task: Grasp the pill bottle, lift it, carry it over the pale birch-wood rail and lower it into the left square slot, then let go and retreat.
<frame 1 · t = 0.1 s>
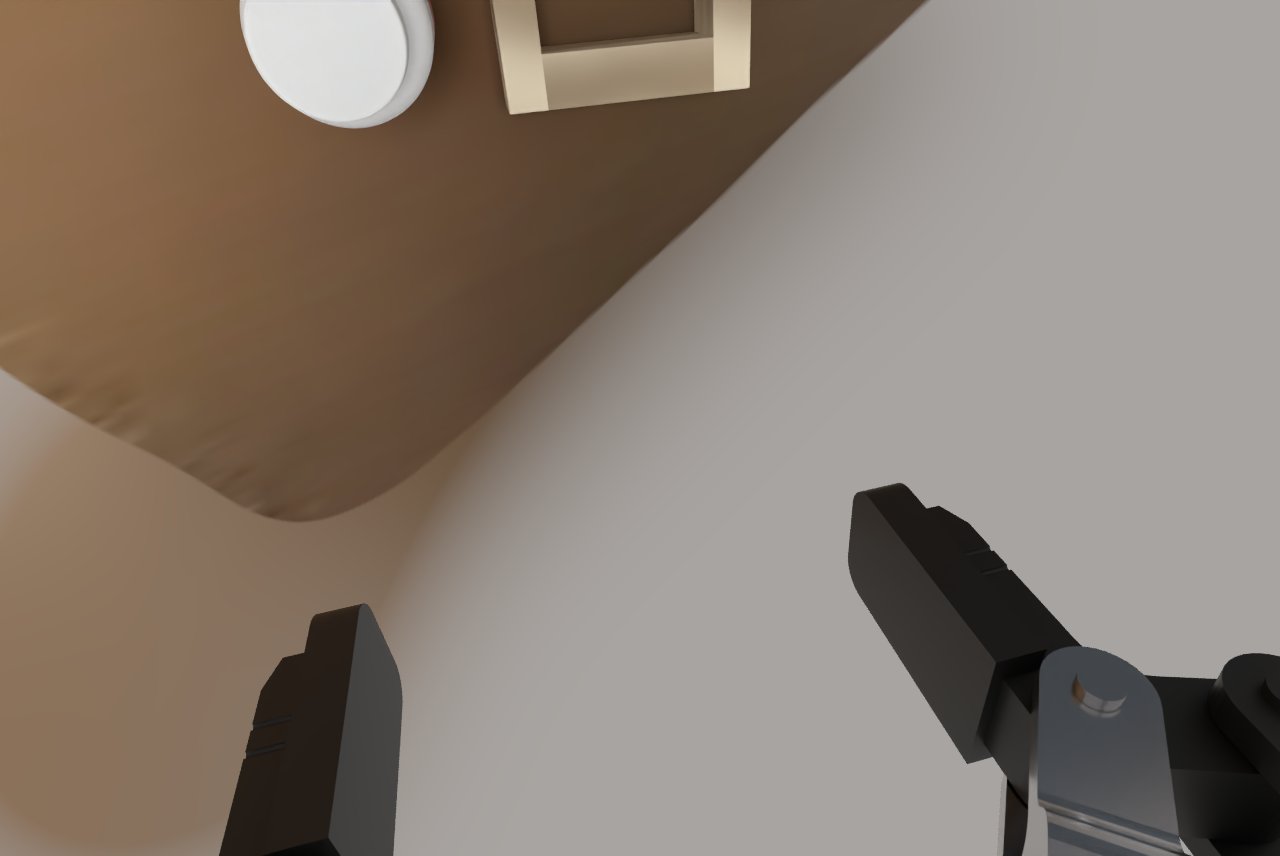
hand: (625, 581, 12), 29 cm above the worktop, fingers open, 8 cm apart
pill bottle: (362, 16, 31), on the worktop
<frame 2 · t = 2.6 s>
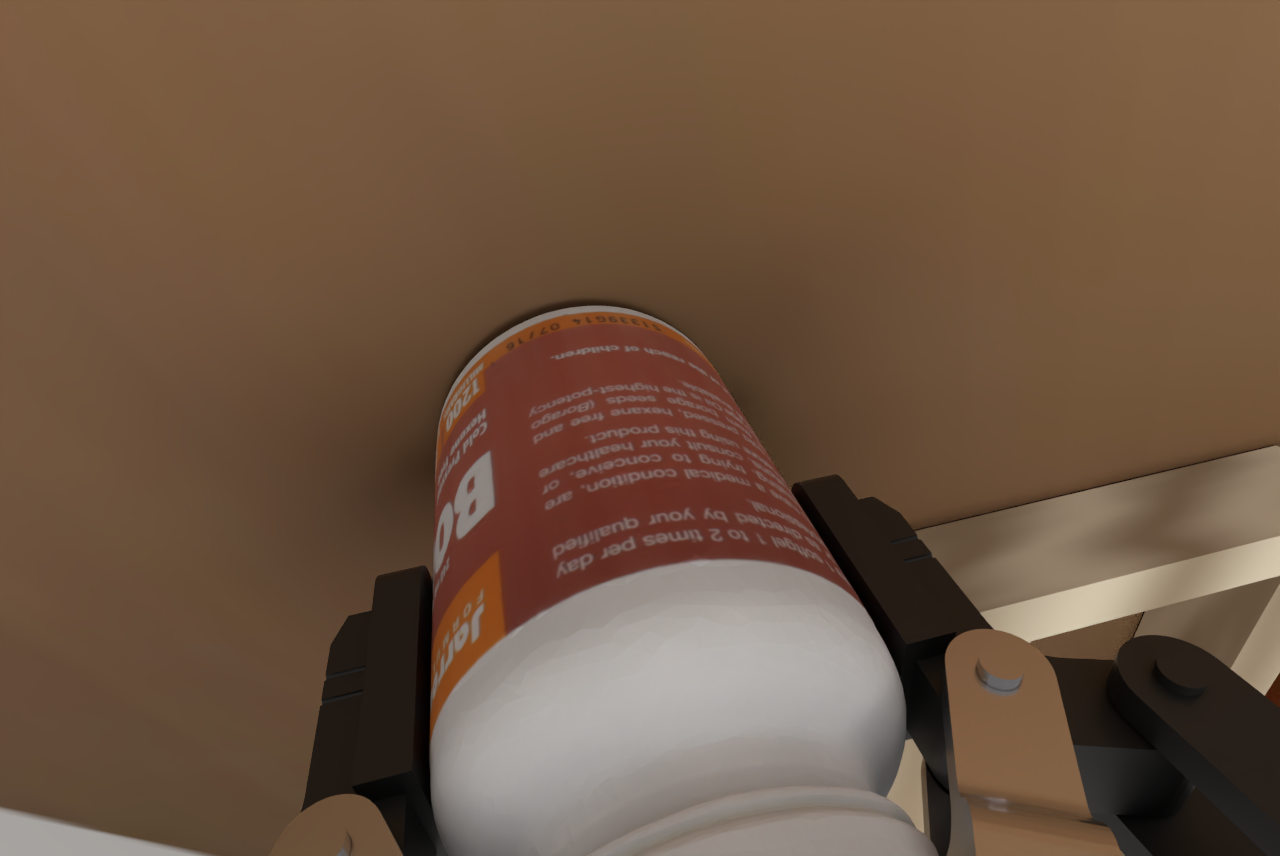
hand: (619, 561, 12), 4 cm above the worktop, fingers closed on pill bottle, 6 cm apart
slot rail: (880, 662, 23), on the worktop
pill bottle: (582, 424, 16), on the worktop, touching gripper
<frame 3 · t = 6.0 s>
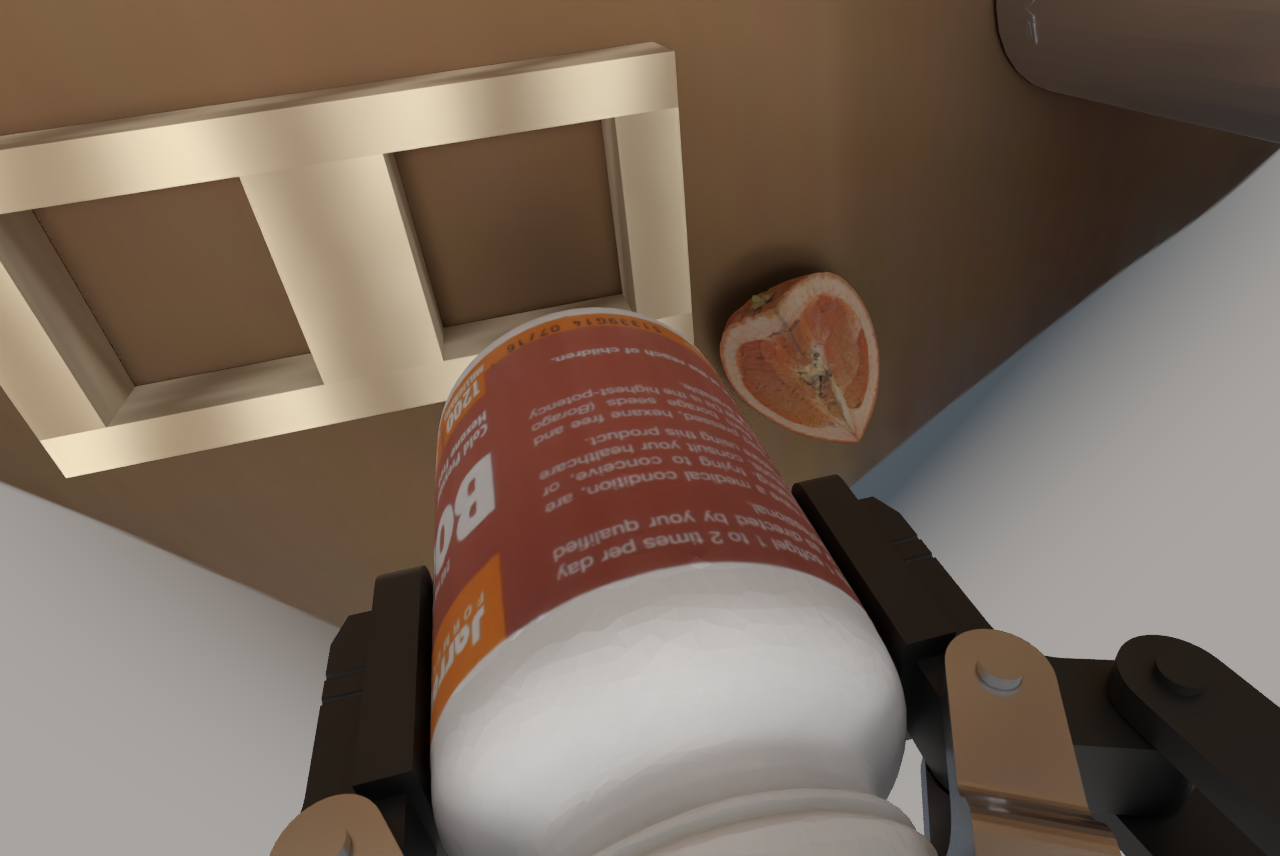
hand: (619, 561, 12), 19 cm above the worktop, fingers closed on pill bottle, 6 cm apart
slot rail: (359, 248, 27), on the worktop
fruit slice: (778, 325, 34), on the worktop
pill bottle: (583, 425, 16), point 15 cm above the worktop, touching gripper
when the fingers open (6 cm above the worktop, at t = 9.2 s): pill bottle drops 1 cm, resting in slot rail.
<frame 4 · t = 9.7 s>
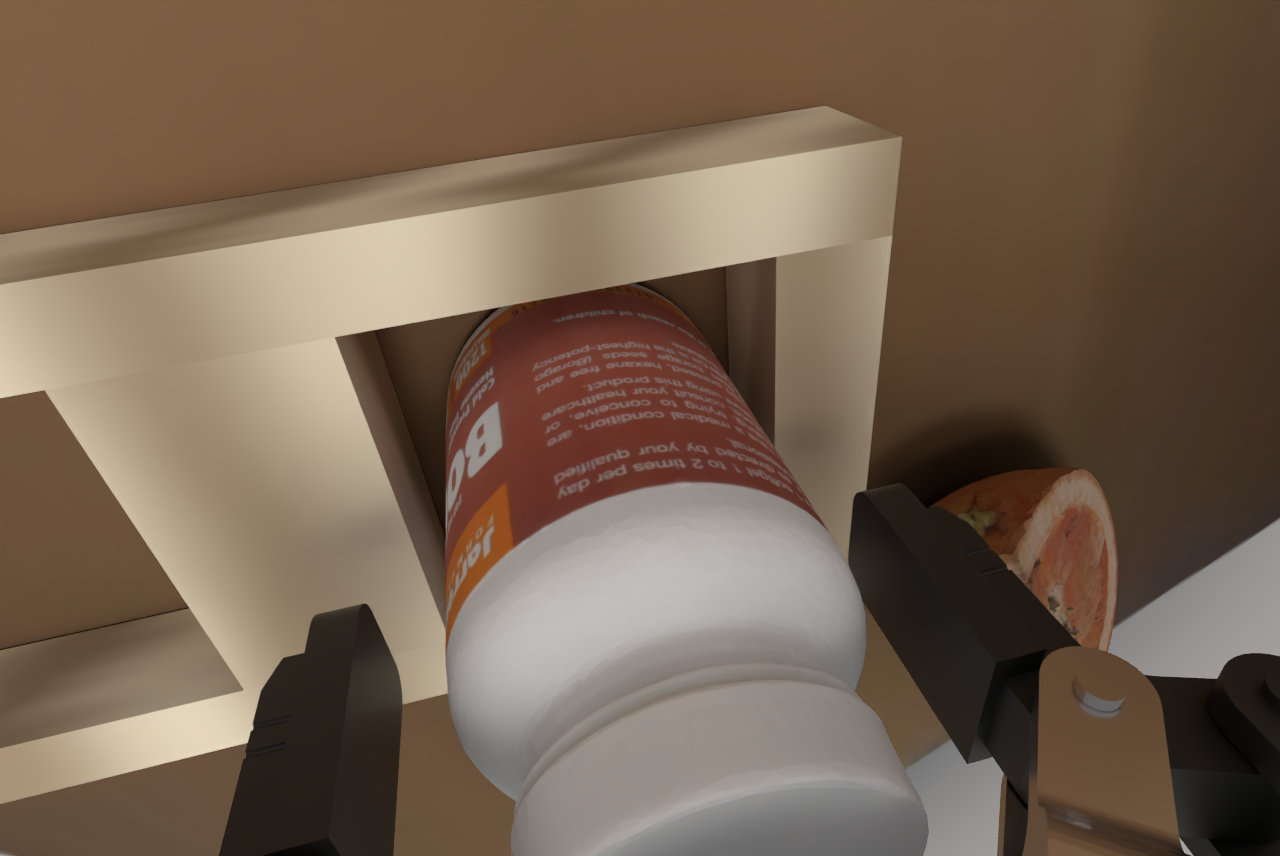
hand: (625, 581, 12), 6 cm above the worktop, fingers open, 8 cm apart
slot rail: (308, 449, 16), on the worktop
fruit slice: (954, 512, 22), on the worktop
pill bottle: (581, 390, 17), resting in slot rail
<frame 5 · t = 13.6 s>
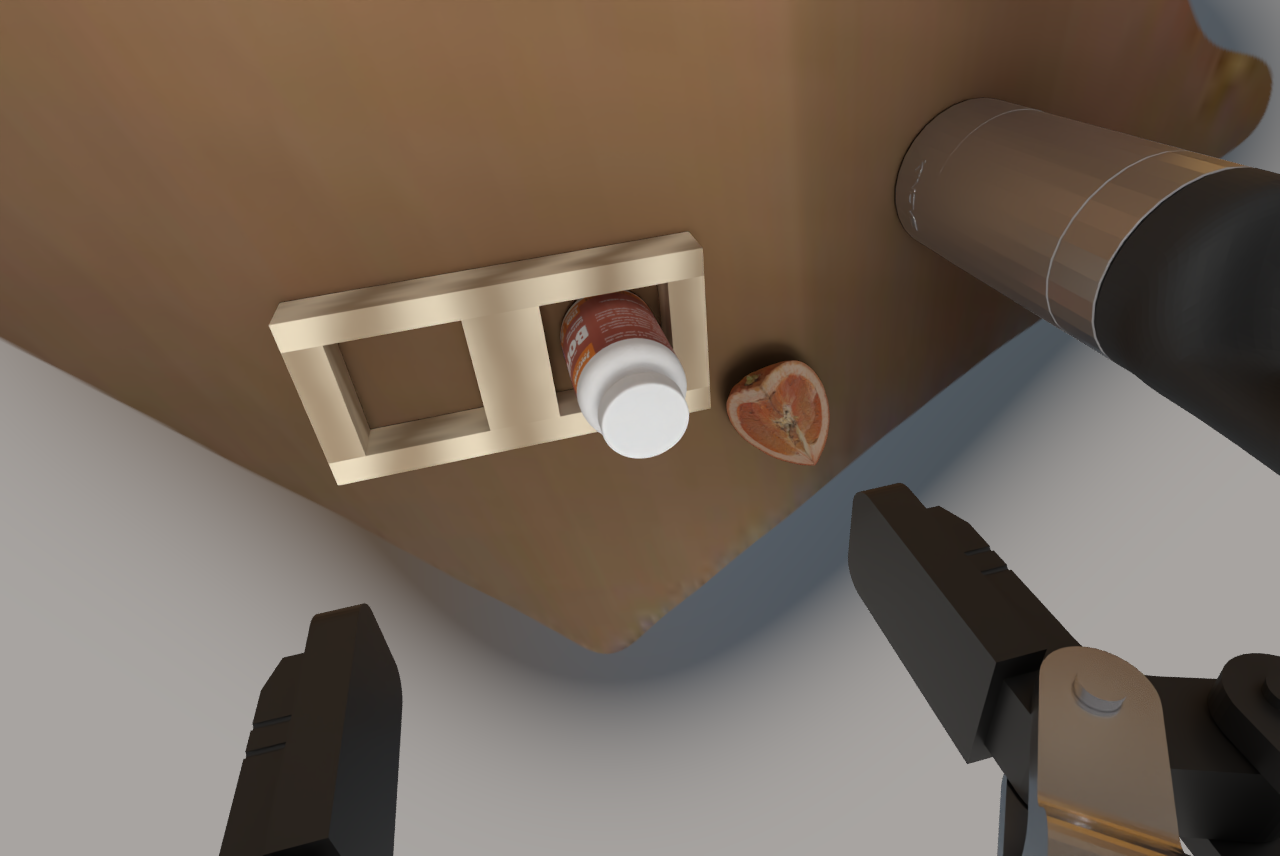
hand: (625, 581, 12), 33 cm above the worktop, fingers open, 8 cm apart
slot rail: (510, 348, 45), on the worktop
fruit slice: (765, 388, 52), on the worktop
pill bottle: (606, 329, 46), resting in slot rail
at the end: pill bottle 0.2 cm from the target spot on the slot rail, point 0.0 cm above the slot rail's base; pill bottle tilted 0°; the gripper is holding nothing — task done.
